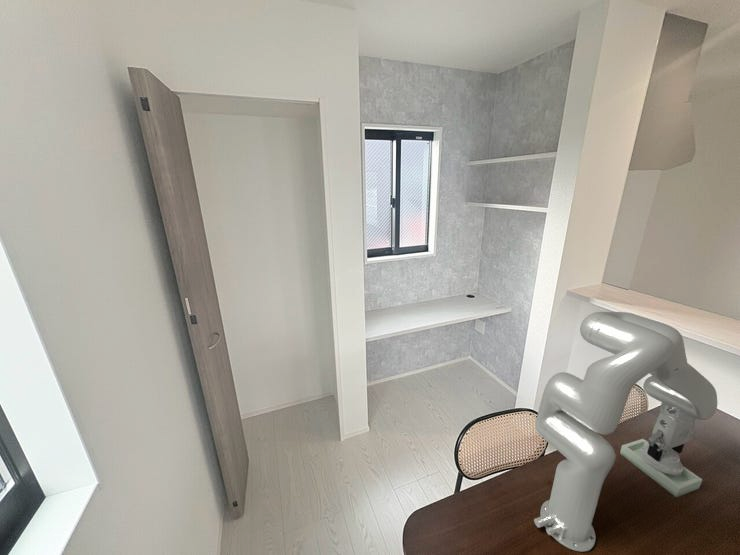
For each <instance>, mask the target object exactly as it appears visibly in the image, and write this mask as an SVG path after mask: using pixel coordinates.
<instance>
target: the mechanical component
mask: <svg viewBox="0 0 740 555" xmlns="http://www.w3.org/2000/svg"><path fill="white" fill-rule="evenodd" d="M656 444H657V445H658V446H660V445H661V444H662V443H660V442H658V441H657V442H656ZM648 448H649V443H648V446H643V447H642V448H641V450H640V455H641V457H642V458H643V459H644V460H645V461H646V462H647V463H648V464H649V465H651V466H652V467H654V468H655V469H657V470H659V471H661V472H664V473H667V474H671V475H679V474H681V473H682V471H683V466H684V465H683V464H682V462H681V457H680V455H679V453H678V452H676V451H675V450H673V449H672V448H668V447H667V446H665V447H664V448H663V449H662V450H661V451H663V453H662V456H661V459H660V461H656V460H655V459H654V458H652V457H651V456H650V455H648V454H647V452H648Z"/></svg>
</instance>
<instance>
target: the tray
mask: <svg viewBox="0 0 740 555" xmlns="http://www.w3.org/2000/svg"><path fill="white" fill-rule="evenodd" d="M648 443H649V441H648V440H645V439H644V438H641V439H637V440H635V441H631V442H628V443H625V444H621V448H620V451H619V454H620V455H621V456H623V457H624V458H626V460H628V461H629V462H630V463H632V464H633V465H634V466H635V467H637V468H638V469H640V470H641V471H642V472H643V473H645V475H646V476H649V477H650V478H651V479H652V480H653V481H655V483H657V484H659V485H660V486H661V487H662V488H663V489H665V490H666V491H667V492H669V493H670V494H672V495H673V496H674V497H675V498H679V497H681V496H684V495H685V494H688V493H690V492H693V491H696V490H698V489H700V486H701V485H702V483H703V478H701V477H699V476H698V475H696V473H694V472H692V471H691V470H690V469H688V468H686V467H685V466H684V465H683V471H682V473H681V474H679V475H671V474H667V473H664V472H661V471H659V470H657V469H655V468H654V467H652V466H651V465H649V464H648V463H647V462H646V461H645V460H644V459H643V458H642V457H641V455H640V450H641V448H642V447H643V446H648Z"/></svg>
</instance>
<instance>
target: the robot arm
mask: <svg viewBox="0 0 740 555" xmlns="http://www.w3.org/2000/svg"><path fill="white" fill-rule="evenodd" d="M579 328H580V329H579V332H580V335H581V337H582V339H583V340H585V342H587V343H588V344H590V345H593V346H595V347H597V348H599V349H602V350H603V351H606V352H609V353H611V354H613V355H610V356H606V357H604V358H601V359H598V360H596V361H594V362H592V363H591V364H590V365H589V366H588V367H587V368H586V372H585V375H584V377H583V379H581V378H580V377H578V376H576V375H574V374H573V373H572V374H571V373H569V372H565V371H562V372H557V373H555V374H554V375H552V376H551V378H550V379H549V380H547V383H546V385H545V387H544V389H543V390H544V391H543V393H542V397H541V401H540V405H539V407H538V412H537V415H536V420H535V429H536V431H537V432H536V433H538V434H539V436H540V437H542V438H543V439H544V440H545V441H546V442H547V443H548V444H550V445H551V447H553V448H554V449H556V451H557V452H559V453H560V454H561V455H563V456H564V457H565V458H566V459H563V460H561V461H560V462H559V463H558V464H557V466H556V469H555V474H554V479H553V483H552V488H551V492H550V498H549V499H548V500H546V501H545V502H543V503H542V505H541V507H540V516H539V517H536V518H534V519H533V522H534V524H535V526H536V527H537V528H542V527H544V528H545V531H546V533H547V535H548V536H552V538H553V539H554V540H555V541H557V542H558V543H559V544H560V545H562V546H564V547H566V548H567V549H570V550H572V551H575V552H581V553H582V552H589V551H590V550H591V549H592V548H593V547H594V545H595V543H596V532H595V529H594V526H593V525H592V523H593V519H594V516H595V513H596V509H597V506H598V502H599V498H600V495H601V491H602V489H603V488H602V487H603V485H604V483H605V479H606V477H607V476H608V474H609V473H610V471H611V470H612V468H613V466H614V464H615V462H616V456H617V455H616V452H615V449H614V447H613V446H612V444H611V443H609V441H607V440H606V439H605V438H604V437H603V436H601V435H604V436H605V435H607V436H608V435H610V434H612V433H614V432H615V431H616V429H617V427H618V425H619V424H620V421H621V418H622V416H623V413H624V411H625V408H626V405H627V402H628V399H629V395H630V394H631V391H632V390H633V387H634V386H635V385H636V384H637V383H638V382H639V381H641V380H642V379H643V378H645V377H646V376H648V375H649V376H648V377H647V378H645V380H644V382H643V390H644V392H645V393H646V394H647V395H648V396H649V397H651V398H653V399H655V400H656V401H658V402H661V403H660V408H659V409H660V412H659V415H658V416H657V419H656V421H655V424H654V427H653V429H652V434H651V436H650V437H648V440H647V441H648V442H649V448H648V452H647V454H648V455H650V456H651V457H652V458H654V459H655V460H656V461H660V459H661V456H662V453H663V451H661V450H662V449H663V448H664V447H665V446H667V447H668V448H670V449H672V450H674V451H675V452H676V453H678V454H682V452H683V451H684V450H683V449H684V446H685V444H686V443H687V444H688V443H689V442H690V441H691V438H692V435H693V432H694V427H695V423H696V422H695V421H696V420H698V421H706V420H709V419H711V418H712V417H714V416H715V414H716V412H717V408H718V395H717V390H716V388H715V387H714V385H713V383H711V382H710V380H709V379H707V378H706V377H705V376H704V375H703V374H702V373H700V371H698V370H697V369H696V368H694V367H693V366H692V365H691V364H690V363H688V358H687V353H686V349H685V348H686V347H685V342H684V338H683V335H682V334H681V333H680V332H679V330H678V329H676V328H675V327H673V326H671V325H669V324H666V323H664V322H660V321H657V320H654V319H651V318H648V317H645V316H641V315H639V314H635V313H631V312H626V311H596V312H592V313H590V314H589V315H587V316H586V317H585V318H584V319H583V321H582V322H581V324H580V327H579ZM650 375H651V376H650ZM656 442H657V443H661V445H660V446H658V445H657V444H656Z"/></svg>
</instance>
